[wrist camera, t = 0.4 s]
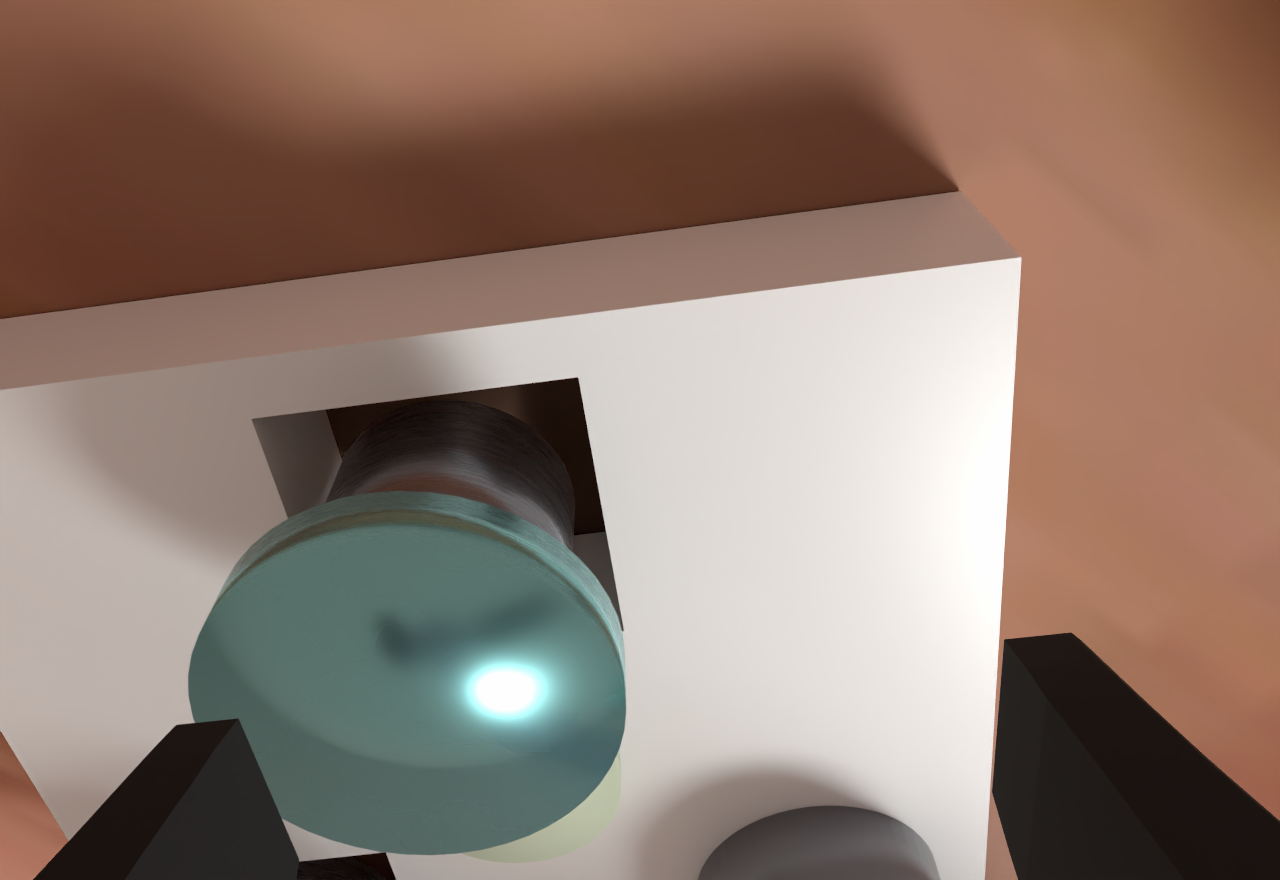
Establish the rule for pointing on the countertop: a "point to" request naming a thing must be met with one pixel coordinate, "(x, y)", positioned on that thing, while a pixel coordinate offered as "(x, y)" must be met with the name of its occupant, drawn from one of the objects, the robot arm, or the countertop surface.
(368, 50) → the countertop surface
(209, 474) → the instrument base
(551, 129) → the countertop surface
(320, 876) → the disc
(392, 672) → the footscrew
